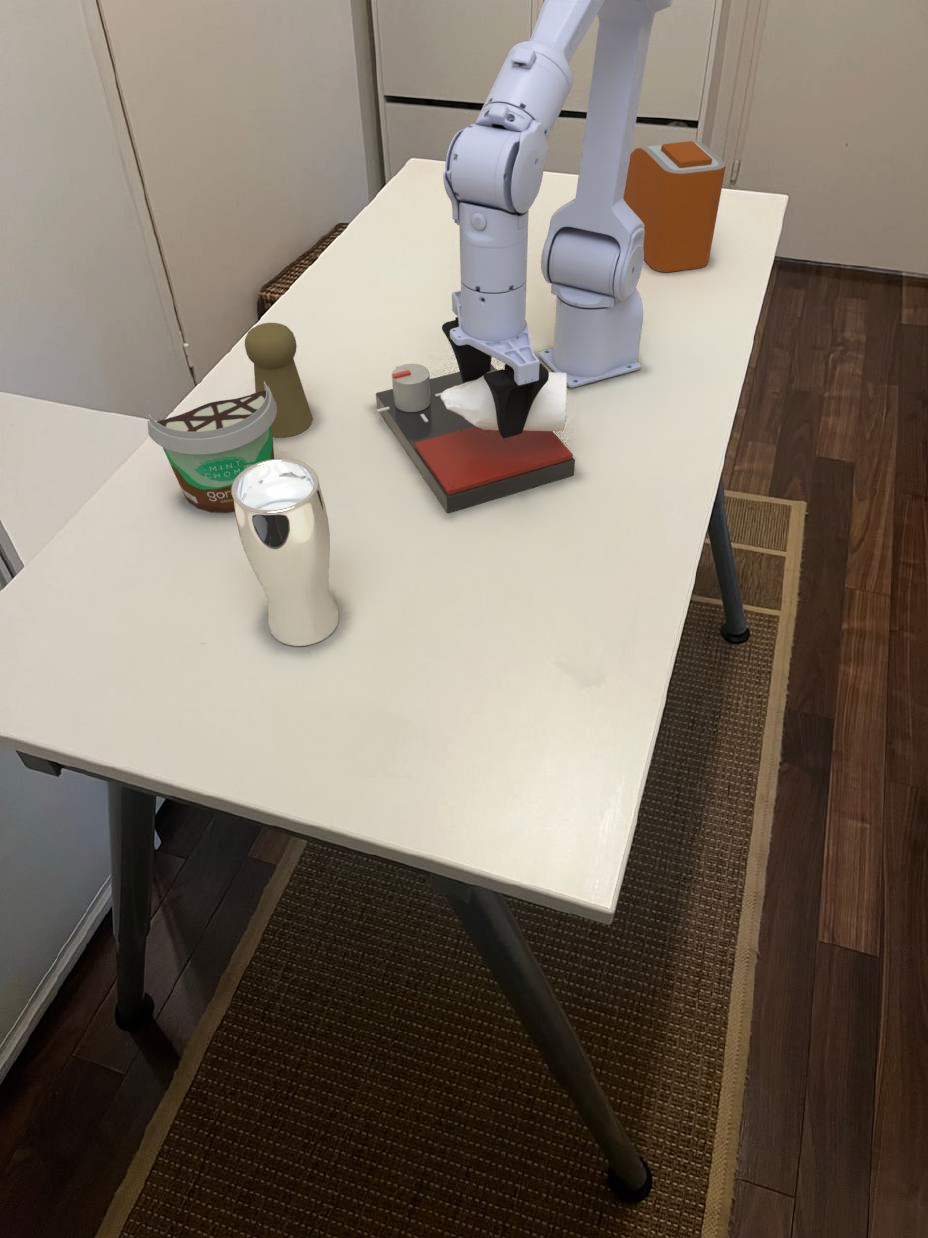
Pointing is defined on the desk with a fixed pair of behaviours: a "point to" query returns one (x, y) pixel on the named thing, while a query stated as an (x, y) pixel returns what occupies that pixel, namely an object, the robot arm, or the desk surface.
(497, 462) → the plate
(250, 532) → the beer glass
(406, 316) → the desk surface
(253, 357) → the olive pawn
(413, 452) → the hob
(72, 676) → the desk surface
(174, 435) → the food container
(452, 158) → the robot arm
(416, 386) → the hob knob
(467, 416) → the white bottle
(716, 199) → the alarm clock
